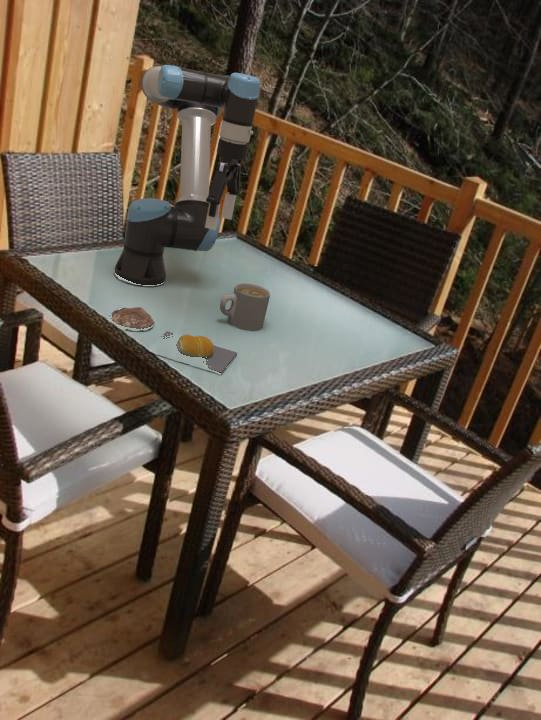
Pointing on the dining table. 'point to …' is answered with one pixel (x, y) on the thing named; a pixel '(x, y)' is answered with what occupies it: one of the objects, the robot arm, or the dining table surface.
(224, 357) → the mat
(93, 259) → the dining table surface
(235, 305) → the coffee mug
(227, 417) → the dining table surface
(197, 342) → the bread roll
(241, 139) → the robot arm
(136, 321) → the shell
